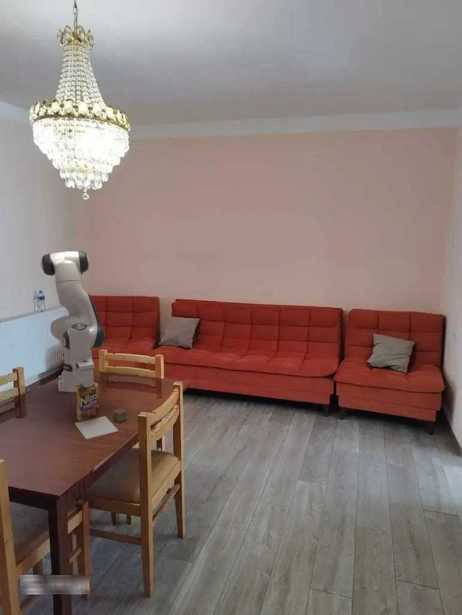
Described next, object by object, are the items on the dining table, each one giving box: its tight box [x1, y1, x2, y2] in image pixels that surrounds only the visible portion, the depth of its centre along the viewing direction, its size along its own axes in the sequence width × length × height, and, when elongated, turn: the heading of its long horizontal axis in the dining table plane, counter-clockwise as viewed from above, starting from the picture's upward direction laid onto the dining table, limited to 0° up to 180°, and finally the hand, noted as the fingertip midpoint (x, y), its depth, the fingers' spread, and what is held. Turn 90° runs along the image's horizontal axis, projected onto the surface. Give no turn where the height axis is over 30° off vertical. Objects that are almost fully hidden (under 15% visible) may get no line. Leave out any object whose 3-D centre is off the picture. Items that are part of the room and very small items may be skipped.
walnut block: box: [112, 408, 127, 423], centre depth 187 cm, size 4×4×4 cm
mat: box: [74, 415, 119, 440], centre depth 179 cm, size 17×13×1 cm
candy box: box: [75, 381, 100, 422], centre depth 187 cm, size 9×4×15 cm, turn 123°
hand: (83, 390), depth 191 cm, fingers closed
